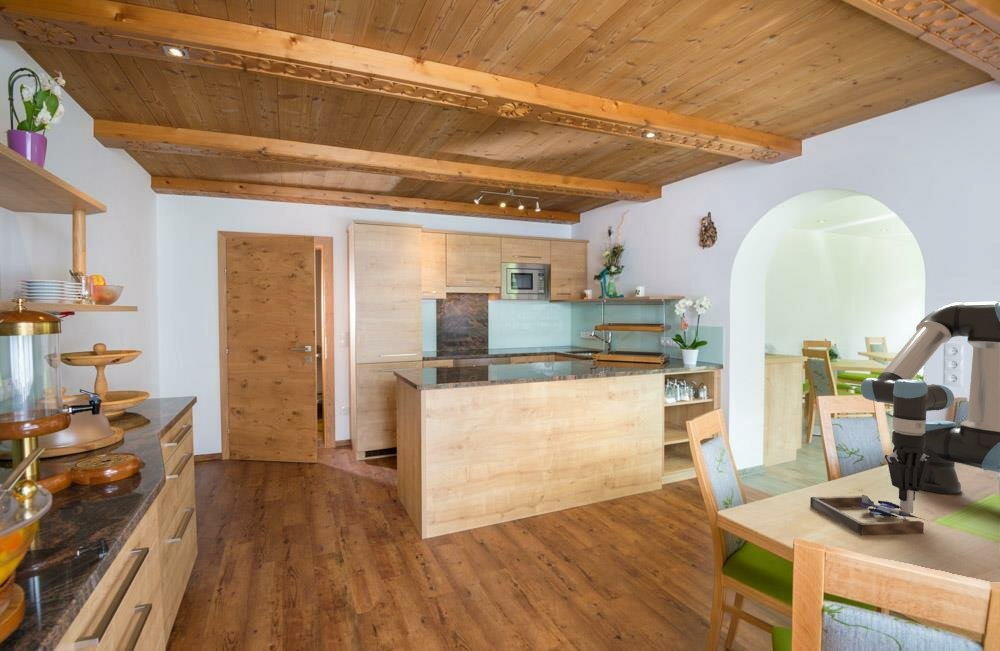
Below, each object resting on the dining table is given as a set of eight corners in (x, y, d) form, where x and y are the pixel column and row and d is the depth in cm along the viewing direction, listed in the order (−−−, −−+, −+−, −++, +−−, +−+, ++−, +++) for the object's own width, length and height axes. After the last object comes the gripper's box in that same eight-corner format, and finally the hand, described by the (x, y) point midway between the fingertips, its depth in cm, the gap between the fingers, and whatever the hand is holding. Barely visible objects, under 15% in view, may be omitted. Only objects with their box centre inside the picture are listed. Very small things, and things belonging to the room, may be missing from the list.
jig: (864, 504, 151) (865, 495, 151) (923, 533, 132) (923, 522, 132) (810, 506, 150) (810, 497, 150) (861, 535, 131) (861, 524, 130)
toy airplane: (931, 530, 133) (931, 517, 133) (874, 525, 136) (874, 513, 136) (902, 511, 146) (902, 499, 146) (851, 507, 149) (851, 496, 149)
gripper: (899, 436, 137) (897, 517, 137) (941, 435, 138) (939, 516, 138) (877, 429, 144) (874, 506, 145) (917, 428, 145) (914, 505, 146)
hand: (906, 511), depth 142 cm, fingers closed
